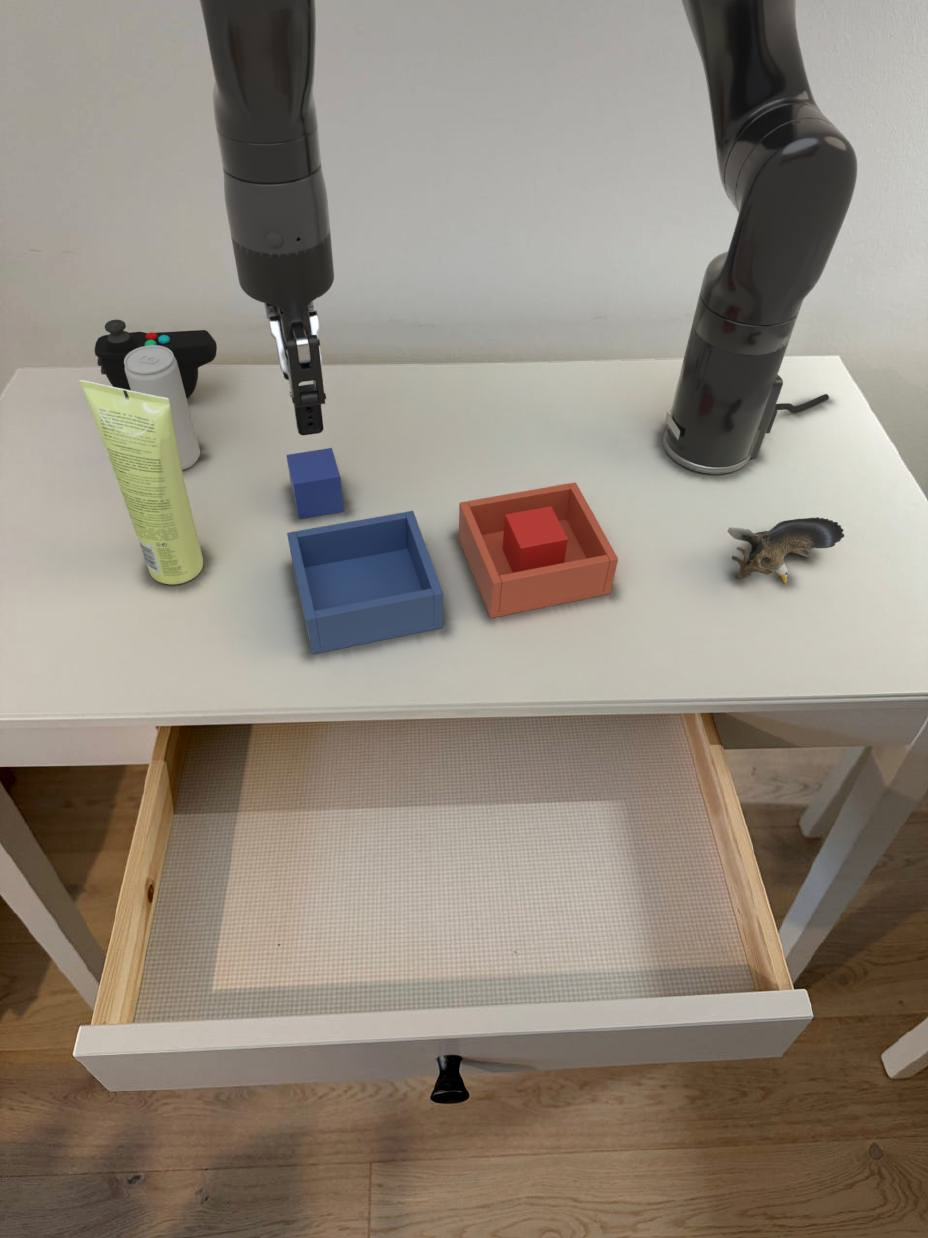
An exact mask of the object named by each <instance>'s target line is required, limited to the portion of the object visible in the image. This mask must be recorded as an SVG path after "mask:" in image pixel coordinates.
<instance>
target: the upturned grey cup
mask: <svg viewBox="0 0 928 1238" xmlns="http://www.w3.org/2000/svg"><path fill="white" fill-rule="evenodd" d="M124 364H125V373H126V376H127V379H128V382H129V385H130V388H131V391H135V392H140V393H145V394H150V395H154V396H160V397H165V398H169V401H170V406H171V415H172V422H173V427H174V433H175V438H176V443H177V448H178V453H179V458H180V462H181V467H182V471H184V470H187V469H189V468H191V467H192V466H193V465H195V464H196V463H197V461H198V459H199V458H200V455H201V449H200V445H199V441H198V437H197V433H196V430H195V426H194V425H195V424H194V421H193V418H192V413H191V410H190V406H189V402H188V399H187V398H186V394H185V391H184V387H183V383H182V379H181V375H180V372H179V368H178V364H177V361H176V359H175V357H174V355H173V353H172V351H171V350H170V349H168V348H166V347H163V346H158V345H149V346H143V347H139V348H137V349H134V350H133V351H131V352H130V353H128V354H127V355H126V357H125V359H124Z"/></svg>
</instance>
